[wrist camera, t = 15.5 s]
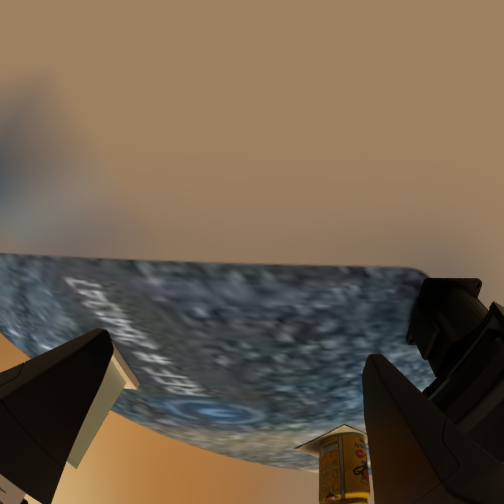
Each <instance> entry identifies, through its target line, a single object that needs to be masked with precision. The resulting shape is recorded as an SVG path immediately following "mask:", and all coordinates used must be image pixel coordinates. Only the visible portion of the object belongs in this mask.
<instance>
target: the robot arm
mask: <svg viewBox="0 0 504 504" xmlns="http://www.w3.org/2000/svg"><path fill="white" fill-rule="evenodd" d="M429 283H431V284H430V286H428V284H429ZM477 283H478V284H477ZM481 286H482V282H481V280H480V279H478V278H428V279H426V280H425V281H424V283H423V286H422V290H421V293H420V297H419V300H418V303H417V304H416V307H415V310H414V313H413V316H412V319H411V323H410V326H409V331H408V334H407V337H406V342H407V344H408V345H417V347H418V349H419V351H420V353H421V356H422V358H423V359H424V360H425V361H426V360H428V362H429V364H430V366H431V368H432V371H433V373H434V375H435V377H437V378H436V379H435V380H434V381H433V382H432V383H431V384H430V386H429V387H426V388H425V389H424V390H423V391H422V392H421V391H420V390H419V389H418V388H416V387H415V386H414V385H413V384H412V383H411V382H410V381H409V380H408V379H407V378H406V377H405V376H404V375H403V374H402V373H401V372H400V371H399V370H398V369H397V368H396V367H395V366H394V365H393V364H392V363H391V362H390V361H388V360H387V359H386V358H385V357H384V356H383V355H382V354H370V355H369V356H368V358H367V361H366V364H365V367H364V370H363V373H362V384H363V401H364V419H365V426H366V433H367V439H368V446H369V454H370V462H371V470H372V479H373V489H374V502H375V504H504V307H502V306H501V305H499V304H497V303H496V302H494V301H493V302H492V304H491V306H490V307H489V308H490V309H489V311H488V309H486V307H485V306H484V305H483V304H482V303H481V302H480V300H479V299H478V295H479V292H480V289H481ZM411 339H412V340H411ZM113 353H114V346H113V343H112V341H111V338H110V335H109V332H108V331H107V330H105V329H100V328H97V329H94V330H92V331H90V332H88V333H86V334H84V335H82V336H79V337H77V338H75V339H73V340H71V341H69V342H67V343H65V344H62V345H60V346H58V347H56V348H54V349H52V350H50V351H47V352H45V353H43V354H41V355H39V356H37V357H35V358H32V359H30V360H28V361H26V362H25V363H22V364H19V365H17V366H15V367H13V368H11V369H8V370H6V371H3V372H1V373H0V504H28V502H27V500H25V499H24V496H25V494H28V495H29V496H31V497H32V498H34V499H35V500H37V501H39V502H40V503H42V504H51V502H52V499H53V497H54V494H55V491H56V488H57V485H58V483H59V480H60V477H61V475H62V472H63V470H64V467H65V464H66V462H67V459H68V457H69V454H70V452H71V450H72V447H73V445H74V443H75V440H76V438H77V436H78V433H79V431H80V429H81V427H82V424H83V422H84V420H85V418H86V416H87V414H88V411H89V409H90V407H91V405H92V403H93V401H94V399H95V397H96V395H97V393H98V391H99V388H100V386H101V384H102V381H103V379H104V376H105V374H106V371H107V368H108V366H109V363H110V361H111V358H112V355H113Z"/></svg>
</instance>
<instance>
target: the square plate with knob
mask: <svg viewBox="0 0 504 504" xmlns="http://www.w3.org/2000/svg"><path fill="white" fill-rule="evenodd" d="M111 341H112V340H111ZM112 343H113V342H112ZM113 346H114V353H113V355H112V358H111V360H112V362H113V363H114V365H115V366H116V368H117V369H118V371H119V373H120V374H121V376H122V377H123V379H124V380H125V381H126V385H125V386H124V388H125V389H137V388H138V387H139V385H140V382H139V381H138V380H137V378H136V377H135V375H134V374H133V372H132V371H131V370H130V368H129V367H128V365H127V364H126V362H125V361H124V359H123V358H122V356H121V354H120V353H119V351H118V350H117V348H116V347H115V345H114V343H113Z"/></svg>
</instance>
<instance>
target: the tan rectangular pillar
mask: <svg viewBox="0 0 504 504" xmlns="http://www.w3.org/2000/svg"><path fill="white" fill-rule="evenodd" d="M125 385H126V381H125V380H124V379H123V377H122V376H121V374H120V373H119V371H118V369H117V368H116V366H115V365H114V363H113V362H112V360H111V361H110V363H109V366H108V368H107V371H106V374H105V376H104V379H103V381H102V384H101V386H100V388H99V391H98V393H97V395H96V397H95V399H94V401H93V403H92V405H91V407H90V409H89V411H88V414H87V416H86V418H85V420H84V422H83V424H82V427H81V429H80V431H79V433H78V436H77V438H76V440H75V443H74V445H73V447H72V450H71V452H70V454H69V457H68V459H67V462H66V464H67V465H69V466H71V467H73V468H75V469H77V467H78V465H79V463H80V462H81V460H82V458H83V456H84V454H85V453H86V451H87V449H88V447H89V446H90V444H91V442H92V440H93V439H94V437H95V435H96V433H97V432H98V430H99V428H100V427H101V425H102V423H103V421H104V420H105V418H106V416H107V415H108V413H109V411H110V410H111V408H112V406H113V405H114V403H115V401H116V400H117V398H118V396H119V395H120V393H121V391H122V390H123V388H124V386H125Z"/></svg>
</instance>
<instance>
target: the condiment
mask: <svg viewBox="0 0 504 504" xmlns="http://www.w3.org/2000/svg"><path fill="white" fill-rule="evenodd" d="M367 443H368V439H367V434H365V433H363V432H360V431H358V430H355V429H352V428H350V427H347V426H345V425H344V426H342V427H340V428H338V429H336V430H333V431H331V432H330V433H327V434H325V435H324V436H321V437H320V438H318V439H316V440H315V441H313V442H310V443H308V444H305V445H303V446H301V447H300V448H297V449H295V450H297V451H301V452H304V453H307V454H310V455H313V456H316V457H318V458H319V503H320V504H368V502H367V500H368V498H369V497H370V485H369V474H368V465H367V457H366V456H367V453H366V447H365V444H367Z"/></svg>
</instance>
